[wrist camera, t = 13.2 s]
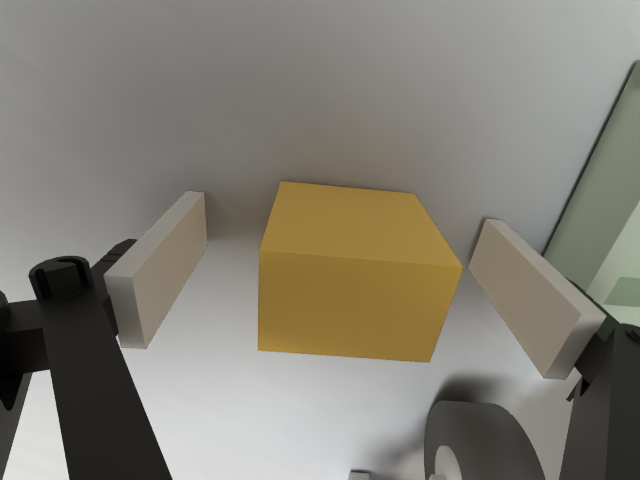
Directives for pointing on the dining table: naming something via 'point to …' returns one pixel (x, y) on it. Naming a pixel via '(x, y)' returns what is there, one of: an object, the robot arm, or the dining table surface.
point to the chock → (353, 274)
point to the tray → (607, 216)
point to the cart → (475, 445)
